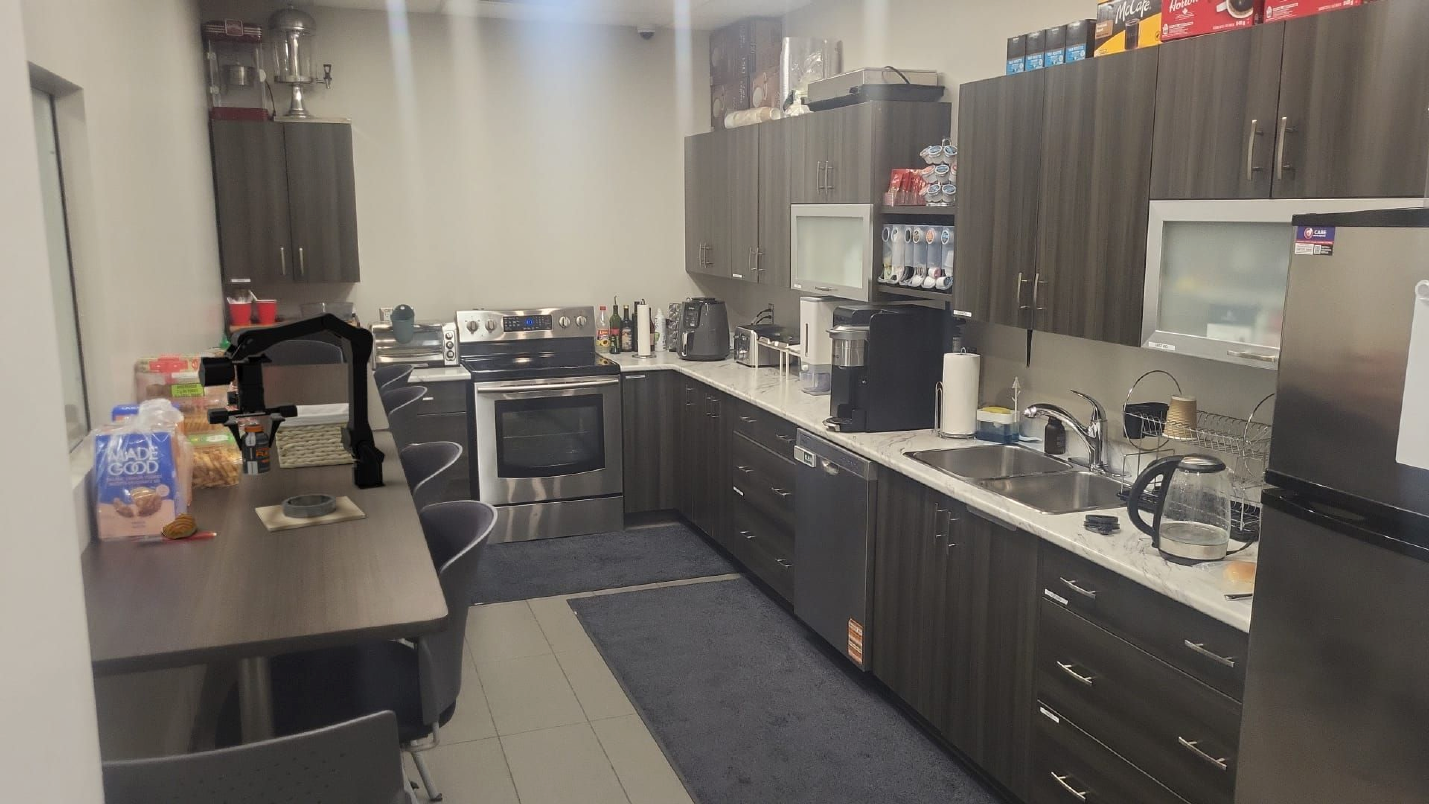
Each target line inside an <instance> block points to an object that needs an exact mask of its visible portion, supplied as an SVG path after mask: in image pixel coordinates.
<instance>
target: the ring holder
mask: <svg viewBox="0 0 1429 804" xmlns="http://www.w3.org/2000/svg"><path fill="white" fill-rule="evenodd" d="M255 513H256V514H257V516H258V517H259V518H260V520H261V521H262V523H263V525H264V526H265V527H266V529H267V531H268V532H269V533H270V532H276V531H283V530H290V529H298V528H304V527H312V526H318V525H320V526H321V525H324V524H327V525H328V524H332V523H339V522H346V521H348V522H349V521H353V520H354V521H355V520H361V519H366V514H365V512H363V511H362V509H360V508H359V507H358V506H357V505H356V504H355V503H354V502H353V501H352V500H351V499H350V498H349V497H348V496H347V495H345V496H337V497H335V496H334V495H330V494H326V493H310V494H308V493H307V494H302V495H295V496H293V497H288V498H286V499H285V500H283V501H282V502H281V504H277V505H276V504H275V505H269V506H260V507H255Z"/></svg>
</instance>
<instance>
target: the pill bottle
mask: <svg viewBox="0 0 1429 804" xmlns="http://www.w3.org/2000/svg"><path fill="white" fill-rule="evenodd" d="M243 431H244V434H242V435H240V438H241V444H242V451H241V460H242V461H241V463H242V473H243V474H244V475H247V476H257V475H258V476H259V475H264V474H268V473H269V472H270V471H271V459H270V458H271V457H270V455H271V454H270V448H269V439H268V433H266V432H264V425H263V424H261V423H252V424H247V425H244V430H243Z"/></svg>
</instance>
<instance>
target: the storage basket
mask: <svg viewBox="0 0 1429 804" xmlns="http://www.w3.org/2000/svg"><path fill="white" fill-rule="evenodd" d="M295 406H296V407H297V411H298V416H297V417H289V418H285V421H284V422H281V424H280V426H279V428H278V430H277V432H276V434H275V440H276V442H275V445H276V447H277V454H278V461H279V467H280V468H282V469H294V468H300V467H301V468H303V467H304V468H306V467H308V468H309V467H310V468H311V467H317V466H335V465H336V466H337V465H339V464H341V465H346V464H352V463H353V464H354V461H356V460H355V459H353V458H352V456H351V454H350V453H348V452H347V451H346V450H345V449H344V447H343V444H342V443H340V441H341V430H340V428H341V427H346V426H347V423H348V421H349V402H348V403H347V402H345V403H344V402H343V403H329V404H328V403H326V404H311V405H310V404H309V405H308V404H305V405H295Z"/></svg>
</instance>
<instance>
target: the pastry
mask: <svg viewBox="0 0 1429 804" xmlns="http://www.w3.org/2000/svg"><path fill="white" fill-rule="evenodd" d="M180 513H181V515H179V516H178V517H177V518H176V519H175V521H173V522H172V523H170V524H168V525H166V526H165V527H163V533H164V534H165V535H166V536H167V537H166V536H165V537H166V538H168V539H174V540H175V539H177V538H184V537H191V535H193V534H194V533H195V531H196V529H197V523H196V520H195V518H194V516H192V515H189V514H187V513H184V512H180Z"/></svg>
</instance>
